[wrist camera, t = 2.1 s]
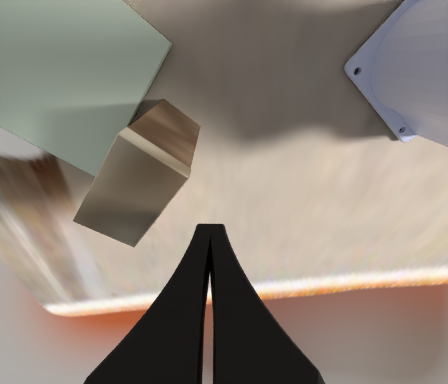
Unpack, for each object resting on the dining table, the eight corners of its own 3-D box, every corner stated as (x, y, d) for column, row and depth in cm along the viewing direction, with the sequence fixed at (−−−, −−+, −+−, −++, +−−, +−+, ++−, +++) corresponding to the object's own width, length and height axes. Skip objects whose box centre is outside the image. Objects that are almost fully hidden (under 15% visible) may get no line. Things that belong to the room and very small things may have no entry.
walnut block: (201, 126, 17) (189, 178, 10) (165, 176, 20) (134, 247, 12) (163, 98, 16) (117, 133, 9) (130, 155, 19) (72, 221, 11)
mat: (172, 44, 14) (167, 42, 13) (102, 174, 20) (93, 184, 18) (-45, -146, 10) (-91, -183, 8) (-57, 89, 15) (-87, 92, 14)
